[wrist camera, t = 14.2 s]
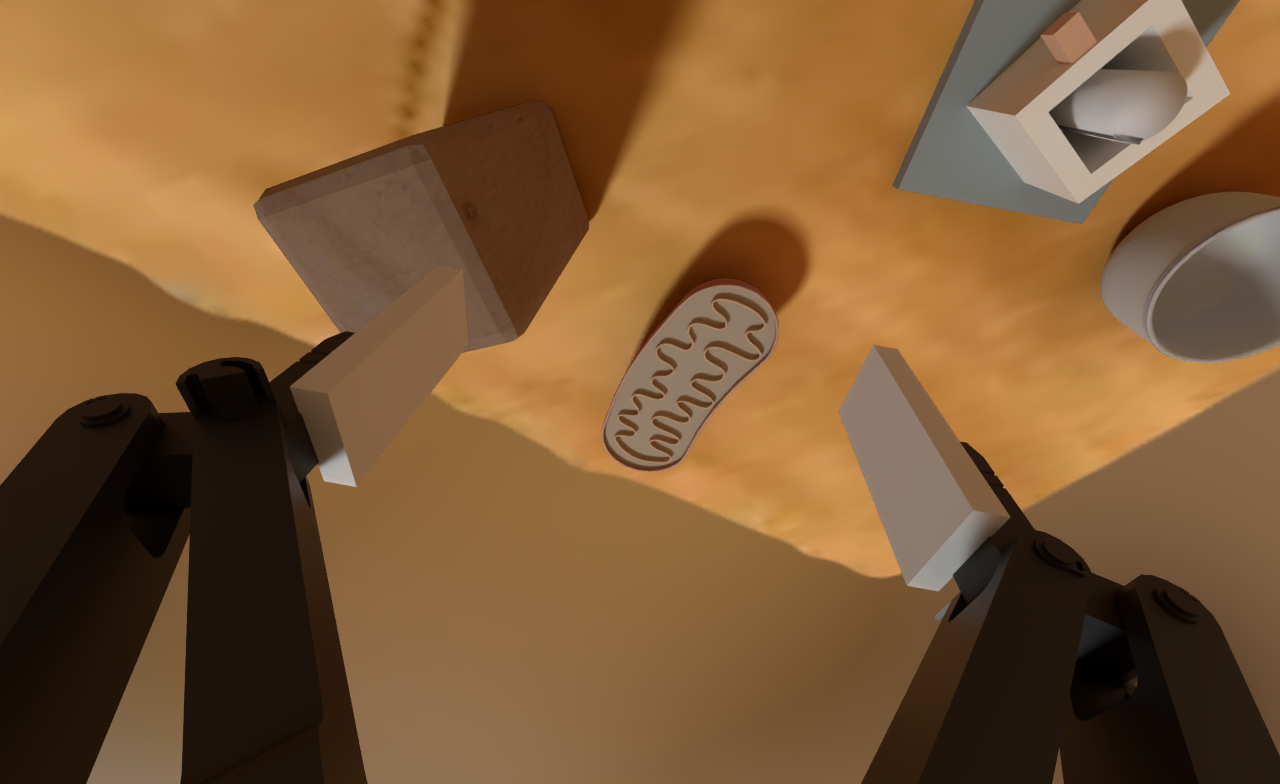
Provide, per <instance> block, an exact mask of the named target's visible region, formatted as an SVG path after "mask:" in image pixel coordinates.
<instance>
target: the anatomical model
mask: <svg viewBox="0 0 1280 784" xmlns="http://www.w3.org/2000/svg"><path fill="white" fill-rule="evenodd" d="M778 335H779V325H778V319H777V316H776V313H775V311H774V309H773V307H772V305H771V303H770V301H769V300H768V299H767V297H766V296H765V295H764V294H763V293H762V292H761V291H760V290H758V289H757V288H756V287H754V286H752V285H751V284H749V283H746V282H744V281H741V280H737V279H731V278H721V279H713V280H710V281H707V282H704V283H702V284H700V285H698V286H697V287H695V288H694V289H692V290H691V291H690V292H688V293H687V294H686V295H685V296H684V297H683V298H682V300H681V301H680V302H679V303H678V304H677V305H676V306H675V308H674V309H673V310H672V311H671V312H670V313H669V314H668V315H667V317H666V318H665V319H664V320H663V321H662V322H661V323H660V324H659V326H658V327H657V328H656V329H655V330H654V332H653V333H652V334H651V335H650V337H649V338H648V339H647V340H646V342H645V343H644V344H643V346H642V347H641V349H640V350H639V352H638V353H637V355H636V356H635V358H634V359H633V361H632V363H631V364H630V366H629V368H628V370H627V371H626V373H625V375H624V377H623V379H622V381H621V383H620V385H619V387H618V389H617V391H616V393H615V395H614V398H613V400H612V403H611V405H610V408H609V410H608V413H607V415H606V418H605V420H604V423H603V427H602V442H603V446H604V448H605V450H606V451H607V453H608V454H609V455H610V456H611V457H612V458H613V459H614V460H615V461H617V462H618V463H620V464H621V465H623V466H625V467H627V468H630V469H633V470H636V471H642V472H657V471H664V470H667V469H670V468H672V467H675V466H676V465H678V464H679V463H681V462H682V461H683V460H684V458H685V457H686V455H687V454H688V452H689V450H690V448H691V447H692V445H693V443H694V441H695V439H696V438H697V436H698V434H699V433H700V431H701V430H702V428H703V427H704V425H705V424H706V422H707V421H708V420H709V418H710V417H711V416H712V414H713V413H714V412H715V410H716V409H717V408H718V407H719V406H720V405H721V404H722V402H723V401H724V400H725V399H726V398H727V397H728V396H729V395H730V394H731V393H732V392H733V391H734V390H735V389H736V388H737V387H738V386H739V385H740V384H741V383H742V382H743V381H744V380H745V379H746V378H747V377H749V376H750V375H751V374H752V373H753V372H754V371H755V370H756V369H757V368H759V367H760V366H761V365H762V364H763V363H764V362H765V361H766V360H767V359H768V358H769V357H770V356H771V354H772V352H773V350H774V349H775V347H776V344H777V340H778Z"/></svg>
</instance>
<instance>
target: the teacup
mask: <svg viewBox="0 0 1280 784" xmlns="http://www.w3.org/2000/svg"><path fill="white" fill-rule="evenodd" d="M1101 293H1102V298H1103V301H1104V303H1105V305H1106V307H1107V308H1108V310H1109V311H1110V313H1111V314H1112V315H1113V316H1114V317H1115V318H1116V319H1118V320H1119V321H1120V322H1121V323H1122V324H1124V325H1125V326H1126V327H1128V328H1129V329H1130V330H1132V331H1133V332H1135V333H1136V334H1138V335H1139V336H1141V337H1142V338H1144V339H1146V340H1147V341H1149V342H1150V343H1152V345H1153V346H1154V347H1155V348H1156V349H1158V350H1159V351H1160V352H1162V353H1163V354H1165V355H1167V356H1169V357H1172V358H1175V359H1178V360H1182V361H1188V362H1197V363H1216V362H1224V361H1231V360H1235V359H1241V358H1245V357H1249V356H1252V355H1255V354H1258V353H1262V352H1264V351H1267V350H1269V349H1272V348H1274V347H1276V346H1279V345H1280V197H1278V196H1272V195H1267V194H1260V193H1252V192H1219V193H1211V194H1206V195H1202V196H1197V197H1193V198H1190V199H1187V200H1184V201H1181V202H1179V203H1176V204H1174V205H1172V206H1169V207H1167V208H1165V209H1163V210H1161V211H1159V212H1157V213H1156V214H1154V215H1152V216H1151V217H1149V218H1148V219H1146V220H1145V221H1143V222H1142V223H1141V224H1139V225H1138V226H1137V227H1136V228H1134V229H1133V230H1132V231H1131V232H1130V233H1129V234H1128V235H1127V236H1126V237H1125V238H1124V239H1123V240H1122V241H1121V242H1120V243H1119V244H1118V246H1117V247H1116V248H1115V250H1114V251H1113V252H1112V254H1111V256H1110V257H1109V259H1108V261H1107V263H1106V265H1105V267H1104V271H1103V274H1102V278H1101Z"/></svg>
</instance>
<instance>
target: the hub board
mask: <svg viewBox="0 0 1280 784" xmlns="http://www.w3.org/2000/svg"><path fill="white" fill-rule="evenodd" d="M1080 1H1081V0H975V2H974V5H973V7H972V9H971V11H970V14H969V16H968V18H967V20H966V23H965V25H964V27H963V29H962V31H961V34H960V36H959V38H958V40H957V43H956V45H955V47H954V49H953V52H952V54H951V56H950V58H949V61H948V63H947V65H946V67H945V70H944V72H943V74H942V76H941V78H940V81H939V83H938V85H937V87H936V90H935V92H934V94H933V96H932V99H931V101H930V103H929V105H928V108H927V110H926V112H925V114H924V116H923V119H922V121H921V123H920V125H919V128H918V130H917V132H916V134H915V137H914V139H913V141H912V143H911V146H910V148H909V150H908V152H907V155H906V157H905V159H904V161H903V163H902V166H901V168H900V170H899V172H898V175H897V177H896V179H895V181H894V184H893V186H894V187H895V188H897V189H899V190H905V191H910V192H915V193H920V194H926V195H931V196H936V197H942V198H947V199H952V200H957V201H963V202H968V203H973V204H978V205H984V206H989V207H994V208H999V209H1005V210H1010V211H1015V212H1021V213H1026V214H1031V215H1036V216H1042V217H1047V218H1052V219H1057V220H1063V221H1068V222H1073V223H1079V224H1082V223H1083V222H1084V220H1085V219H1086V217H1087V216H1088V214H1089V213H1090V212H1091V210H1092V209H1093V207H1094V206H1095V205H1096V203H1097V202H1098V200H1099V199H1100V197H1101V196H1102V195H1103V193H1104V192H1105V190H1106V189H1107V188H1108V186H1109V185H1110V183H1111V182H1112V180H1113V179H1112V180H1111V181H1109V182H1108V183H1107V184H1105V185H1104V186H1103V187H1101V188H1100V189H1098V190H1097V191H1096V192H1094V193H1093V194H1092V195H1090V196H1089V197H1087V198H1086V199H1085V200H1083V201H1082V202H1081V203H1079V204H1078V203H1075V202H1073V201H1070V200H1068V199H1065V198H1063V197H1060V196H1058V195H1055V194H1053V193H1050V192H1048V191H1045V190H1042V189H1040V188H1037V187H1035V186H1032V185H1030V184H1027V183H1025V182H1024V181H1023V180H1022V179H1021V178H1020V176H1019V175H1018V174H1017V172H1016V171H1015V170H1014V168H1013V167H1012V166H1011V164H1010V163H1009V162H1008V160H1007V159H1006V158H1005V156H1004V155H1003V154H1002V152H1001V151H1000V150H999V149H998V147H997V146H996V145H995V143H994V142H993V141H992V139H991V138H990V137H989V135H988V134H987V133H986V131H985V130H984V129H983V127H982V126H981V125H980V124H979V122H978V121H977V120H976V118H975V117H974V116H973V114H972V113H971V112H970V110H969V109H968V108H967V105H968V104H969V103H970V102H971V101H972V100H973V99H975V98H976V97H977V96H978V95H979V94H980V93H981V92H982V91H983V90H984V89H985V88H986V87H988V86H989V85H990V84H991V83H992V82H993V81H994V80H995V79H996V78H997V77H998V76H999V75H1001V74H1002V73H1003V72H1004V71H1005V70H1006V69H1007V68H1008V67H1009V66H1010V65H1011V64H1012V63H1014V62H1015V61H1016V60H1017V59H1018V58H1019V57H1020V56H1021V55H1022V54H1023V53H1024V52H1025V51H1027V50H1028V49H1029V48H1030V47H1031V46H1032V45H1033V44H1034V43H1035V42H1036V41H1037V40H1038V39H1040V38H1041V36H1040V35H1041V34H1042V33H1043V32H1044V31H1045V30H1046V29H1048V28H1049V27H1050V26H1051V25H1052V24H1053V23H1054V22H1055V21H1056V20H1057V19H1058V18H1059V17H1061V16H1062V15H1063V14H1064V13H1068V12H1069V11H1070V10H1071V9H1072V8H1073V7H1074V6H1075V5H1076V4H1077V3H1078V2H1080ZM1239 1H1240V0H1182V2H1183V4H1184V6H1185V8H1186V10H1187V12H1188V14H1189V16H1190V18H1191V20H1192V22H1193V23H1194V25H1195V27H1196V29H1197V31H1198V33H1199V35H1200V37H1201V39H1202V41H1203V43H1204V45H1205V46H1206V47H1207V46H1208V44H1209V43H1210V42H1211V40H1212V39H1213V37H1214V36H1215V35H1216V33H1217V32H1218V30H1219V29H1220V27H1221V26H1222V25H1223V23H1224V22H1225V20H1226V19H1227V18H1228V16H1229V15H1230V13H1231V12H1232V10H1233V9H1234V8H1235V6H1236V5H1237V3H1238V2H1239ZM1186 97H1187V83H1186V81H1185V79H1184V78H1183V77H1182V76H1181V75H1180V74H1178V73H1175V72H1169V71H1143V70H1117V69H1101V68H1100V69H1099V70H1098V71H1097V72H1096V73H1094V74H1093V75H1092V76H1091V77H1090V78H1089V79H1087V80H1086V81H1085V82H1084V83H1083V84H1081V85H1080V86H1079V87H1078V88H1077V89H1075V90H1074V91H1073V92H1072V93H1071V94H1070V95H1068V96H1067V97H1066V98H1065V99H1064V100H1062V101H1061V102H1060V103H1059V104H1058V105H1056V106H1055V107H1054V108H1053V109H1052V110H1050V111H1049V112H1048V113H1049V114H1050V115H1051V117H1052V118H1053V120H1054V121H1055V123H1056V124H1057V126H1058V127H1059V128H1060V130H1061V131H1062V132H1064V131H1069V132H1074V133H1079V134H1084V135H1089V136H1093V137H1098V138H1103V139H1108V140H1112V141H1117V142H1122V143H1133V144H1138V145H1140V143H1141V142H1142V141H1144V140H1147V139H1149V138H1151V137H1153V136H1155V135H1156V134H1158V133H1159V132H1161V131H1162V130H1163V129H1165V128H1166V127H1167V126H1168V125H1169V124H1170V123H1171V122H1172V121H1173V120H1174V119H1175V118H1176V116H1177V115H1178V114H1179V112H1180V111H1181V109H1182V107H1183V105H1184V103H1185V100H1186Z"/></svg>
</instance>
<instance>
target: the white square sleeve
mask: <svg viewBox="0 0 1280 784" xmlns="http://www.w3.org/2000/svg"><path fill="white" fill-rule="evenodd" d="M1040 36H1041V38H1040V39H1038V40H1037V41H1036V42H1035V43H1034V44H1033V45H1032V46H1031V47H1030V48H1029V49H1028V50H1027V51H1025V52H1024V53H1023V54H1022V55H1021V56H1020V57H1019V58H1018V59H1017V60H1016V61H1015V62H1014V63H1012V64H1011V65H1010V66H1009V67H1008V68H1007V69H1006V70H1005V71H1004V72H1003V73H1002V74H1001V75H999V76H998V77H997V78H996V79H995V80H994V81H993V82H992V83H991V84H990V85H989V86H988V87H986V88H985V89H984V90H983V91H982V92H981V93H980V94H979V95H978V96H977V97H976V98H975V99H973V100H972V101H971V102H970V103H969V104H968V105H967V108H968V109H969V110H970V112H971V113H972V114H973V116H974V117H975V118H976V120H977V121H978V122H979V124H980V125H981V126H982V127H983V129H984V130H985V131H986V133H987V134H988V135H989V137H990V138H991V139H992V141H993V142H994V143H995V145H996V146H997V147H998V149H999V150H1000V151H1001V152H1002V154H1003V155H1004V156H1005V158H1006V159H1007V160H1008V162H1009V163H1010V164H1011V166H1012V167H1013V168H1014V170H1015V171H1016V172H1017V174H1018V175H1019V176H1020V178H1021V179H1022V180H1023V181H1024V182H1025V183H1027V184H1030V185H1032V186H1035V187H1037V188H1040V189H1042V190H1045V191H1048V192H1050V193H1053V194H1055V195H1058V196H1060V197H1063V198H1065V199H1068V200H1070V201H1073V202H1075V203H1078V204H1079V203H1081V202H1082V201H1083V200H1085V199H1086V198H1087V197H1089V196H1090V195H1092V194H1093V193H1094V192H1096V191H1097V190H1098V189H1100V188H1101V187H1103V186H1104V185H1105V184H1107V183H1108V182H1109V181H1111V180H1112V179H1114V178H1115V177H1116V176H1118V175H1119V174H1120V173H1122V172H1123V171H1125V170H1126V169H1127V168H1129V167H1130V166H1132V165H1133V164H1134V163H1136V162H1137V161H1138V160H1140V159H1141V158H1143V157H1144V156H1145V155H1147V154H1148V153H1149V152H1151V151H1152V150H1154V149H1155V148H1156V147H1158V146H1159V145H1160V144H1162V143H1163V142H1165V141H1166V140H1167V139H1169V138H1170V137H1171V136H1173V135H1174V134H1176V133H1177V132H1178V131H1180V130H1181V129H1182V128H1184V127H1185V126H1187V125H1188V124H1189V123H1191V122H1192V121H1194V120H1195V119H1196V118H1198V117H1199V116H1200V115H1202V114H1203V113H1205V112H1206V111H1207V110H1209V109H1210V108H1211V107H1213V106H1214V105H1216V104H1217V103H1218V102H1220V101H1221V100H1222V99H1224V98H1225V97H1227V96H1228V95H1229V94H1230V92H1229V91H1228V89H1227V87H1226V85H1225V83H1224V81H1223V79H1222V77H1221V75H1220V73H1219V71H1218V69H1217V68H1216V66H1215V64H1214V62H1213V60H1212V58H1211V56H1210V54H1209V52H1208V50H1207V48H1206V46H1205V45H1204V43H1203V41H1202V39H1201V37H1200V35H1199V33H1198V31H1197V29H1196V27H1195V25H1194V23H1193V22H1192V20H1191V18H1190V16H1189V14H1188V12H1187V10H1186V8H1185V6H1184V4H1183V2H1182V0H1081V1H1080V2H1078V3H1077V4H1076V5H1075V6H1074V7H1073V8H1072V9H1071V10H1070V11H1069V12H1068V13H1064V14H1063V15H1062V16H1061V17H1059V18H1058V19H1057V20H1056V21H1055V22H1054V23H1053V24H1052V25H1051V26H1050V27H1049V28H1048V29H1046V30H1045V31H1044V32H1043V33H1042V34H1041V35H1040ZM1100 68H1101V69H1117V70H1143V71H1169V72H1175V73H1178V74H1180V75H1181V76H1182V77H1183V78H1184V79H1185V81H1186V83H1187V97H1186V100H1185V103H1184V105H1183V107H1182V109H1181V111H1180V112H1179V114H1178V115H1177V116H1176V118H1175V119H1174V120H1173V121H1172V122H1171V123H1170V124H1169V125H1168V126H1167V127H1166V128H1165V129H1163V130H1162V131H1161V132H1159V133H1158V134H1156V135H1155V136H1153V137H1151V138H1149V139H1147V140H1144V141H1142V142H1141V143H1140V145H1138V144H1133V143H1122V142H1117V141H1112V140H1108V139H1103V138H1098V137H1093V136H1089V135H1084V134H1079V133H1074V132H1069V131H1064V132H1062V131H1061V130H1060V128H1059V127H1058V126H1057V124H1056V123H1055V121H1054V120H1053V118H1052V117H1051V115H1050V114H1049V113H1048V112H1049V111H1050V110H1052V109H1053V108H1054V107H1055V106H1056V105H1058V104H1059V103H1060V102H1061V101H1062V100H1064V99H1065V98H1066V97H1067V96H1068V95H1070V94H1071V93H1072V92H1073V91H1074V90H1075V89H1077V88H1078V87H1079V86H1080V85H1081V84H1083V83H1084V82H1085V81H1086V80H1087V79H1089V78H1090V77H1091V76H1092V75H1093V74H1094V73H1096V72H1097V71H1098V70H1099V69H1100Z"/></svg>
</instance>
